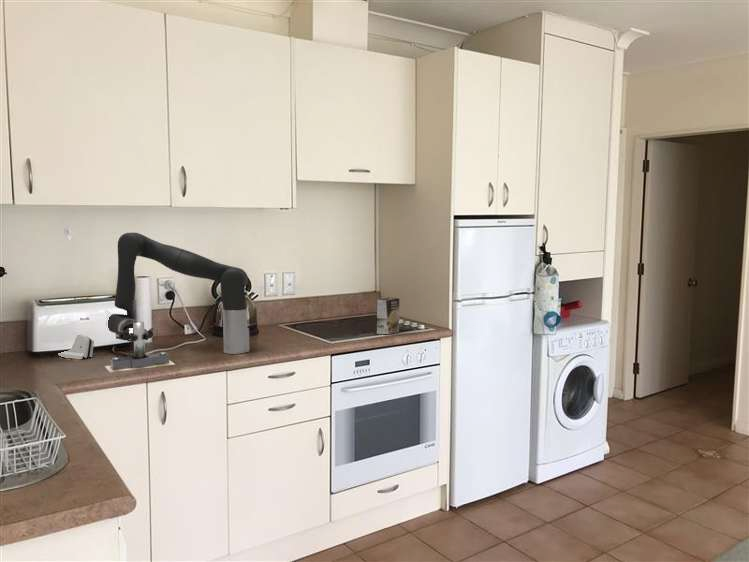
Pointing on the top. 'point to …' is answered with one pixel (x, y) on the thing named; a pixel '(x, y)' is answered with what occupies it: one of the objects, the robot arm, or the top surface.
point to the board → (137, 368)
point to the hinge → (79, 348)
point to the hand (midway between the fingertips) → (141, 337)
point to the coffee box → (387, 315)
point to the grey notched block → (139, 361)
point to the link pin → (139, 339)
